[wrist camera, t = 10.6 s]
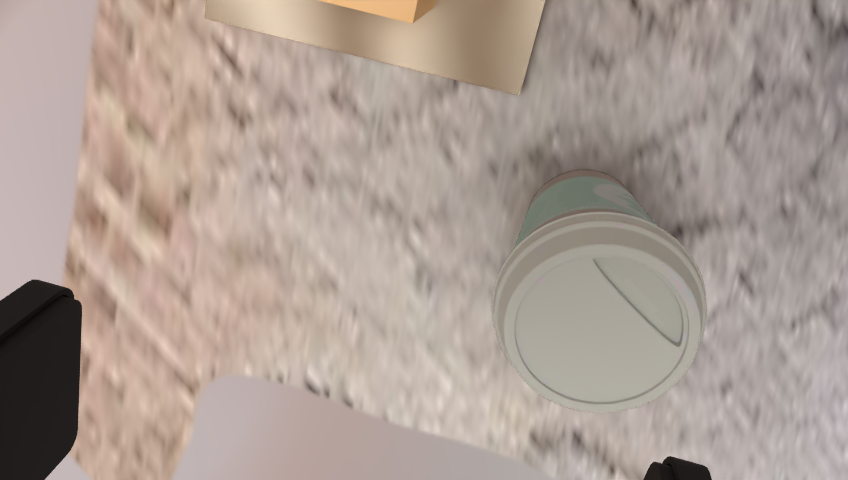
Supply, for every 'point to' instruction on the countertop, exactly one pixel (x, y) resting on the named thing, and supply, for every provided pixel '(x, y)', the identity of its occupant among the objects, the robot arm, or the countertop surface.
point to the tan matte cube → (390, 7)
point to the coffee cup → (597, 298)
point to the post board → (407, 34)
